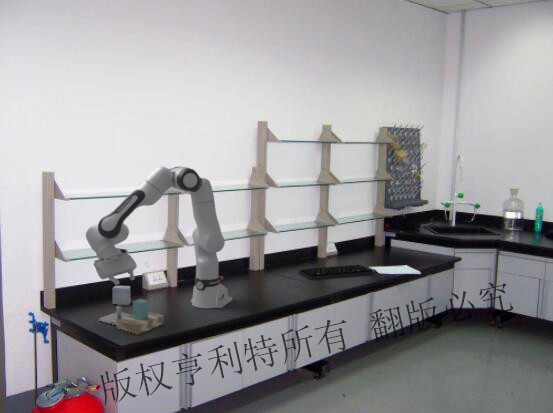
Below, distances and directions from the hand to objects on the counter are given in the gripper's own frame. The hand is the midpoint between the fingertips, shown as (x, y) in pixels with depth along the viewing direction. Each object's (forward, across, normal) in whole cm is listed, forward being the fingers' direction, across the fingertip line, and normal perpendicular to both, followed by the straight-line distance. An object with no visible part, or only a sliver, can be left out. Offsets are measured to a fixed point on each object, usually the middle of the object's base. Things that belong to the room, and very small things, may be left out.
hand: (125, 281), depth 247 cm
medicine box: (-1, +18, +28) cm, 33 cm away
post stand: (+10, 0, +16) cm, 19 cm away
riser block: (+20, 0, +7) cm, 21 cm away
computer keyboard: (+45, +138, -17) cm, 146 cm away
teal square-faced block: (+17, 0, +4) cm, 17 cm away
